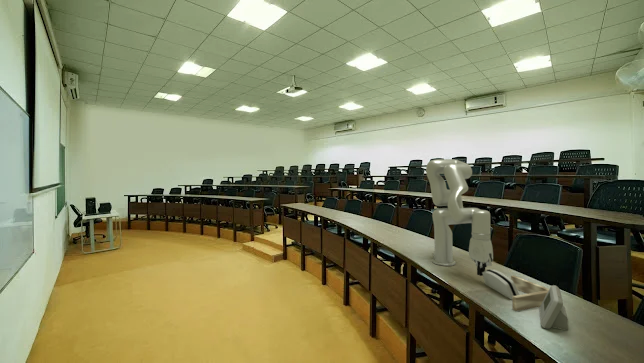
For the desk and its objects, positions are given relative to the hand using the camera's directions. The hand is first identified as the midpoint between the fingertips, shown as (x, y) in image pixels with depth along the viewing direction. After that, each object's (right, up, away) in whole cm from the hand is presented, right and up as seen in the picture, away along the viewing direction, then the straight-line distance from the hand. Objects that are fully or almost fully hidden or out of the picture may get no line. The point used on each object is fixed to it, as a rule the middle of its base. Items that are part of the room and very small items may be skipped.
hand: (481, 275), depth 129 cm
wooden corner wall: (+5, -4, -16) cm, 18 cm away
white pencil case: (+3, -4, -9) cm, 11 cm away
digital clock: (+5, -5, -33) cm, 34 cm away
